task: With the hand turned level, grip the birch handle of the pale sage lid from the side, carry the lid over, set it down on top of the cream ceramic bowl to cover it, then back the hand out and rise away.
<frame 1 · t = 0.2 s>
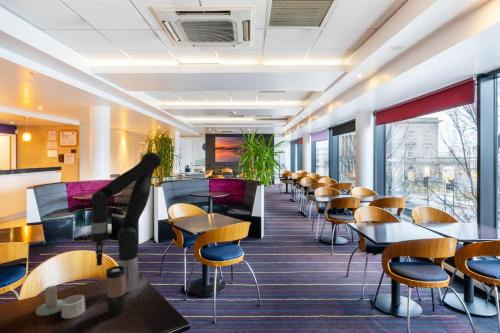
hand: (99, 262, 139), 18 cm above the table, tool pointing down, fingers open, 8 cm apart
bowl: (73, 312, 125), on the table
travel mug: (116, 312, 126), on the table
lid: (51, 308, 129), on the table
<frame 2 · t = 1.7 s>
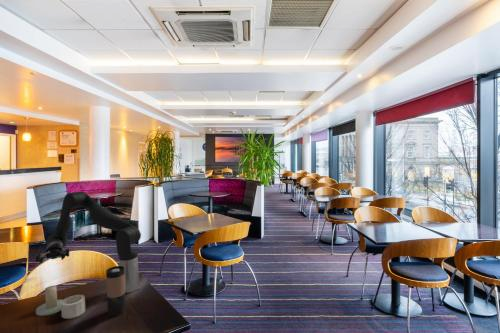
hand: (51, 259, 138), 20 cm above the table, tool horizontal, fingers open, 8 cm apart
nothing on the table moved.
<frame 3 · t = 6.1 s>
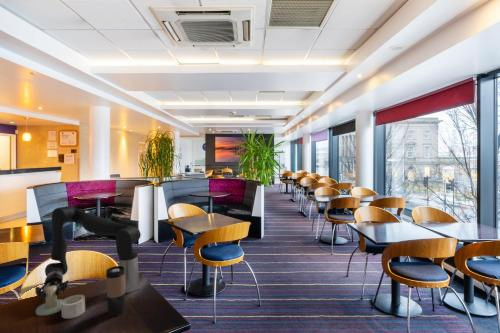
hand: (50, 294, 127), 8 cm above the table, tool horizontal, fingers closed on lid, 4 cm apart
lid: (51, 308, 129), on the table, touching gripper
everything else where it was.
when the fingers open (15 cm above the table, at t = 9.4 s): lid drops 1 cm, resting on bowl.
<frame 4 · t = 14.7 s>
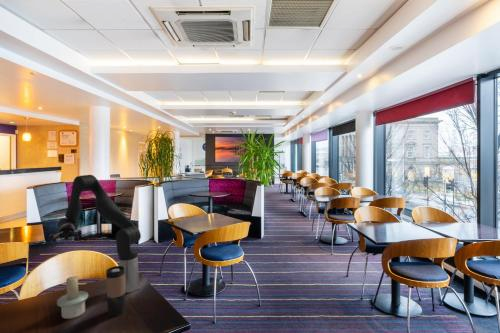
hand: (65, 239, 138), 30 cm above the table, tool horizontal, fingers open, 8 cm apart
lid: (73, 299, 125), point 6 cm above the table, touching bowl
everything else where it was.
at the end: lid 0.1 cm off-centre on the bowl, point 6.0 cm above the bowl's base; lid tilted 0°; the gripper is holding nothing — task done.
